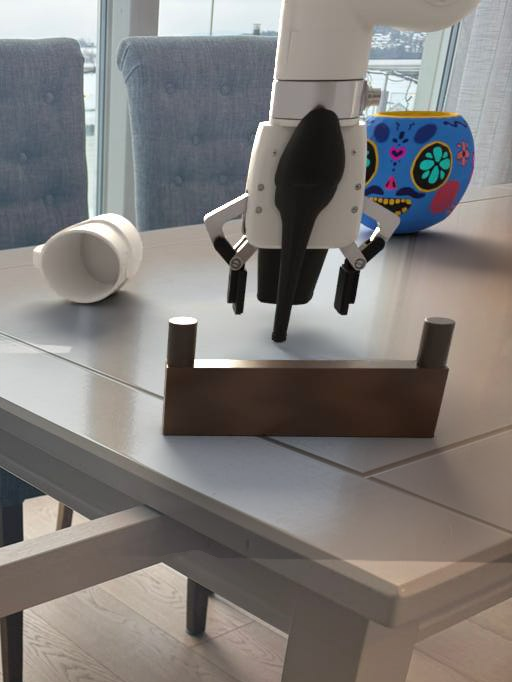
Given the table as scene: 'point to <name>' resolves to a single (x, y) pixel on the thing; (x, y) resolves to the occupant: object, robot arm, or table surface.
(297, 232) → the high-heeled shoe
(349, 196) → the robot arm
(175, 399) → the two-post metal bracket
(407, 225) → the ceramic pot
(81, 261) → the mug
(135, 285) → the table surface
